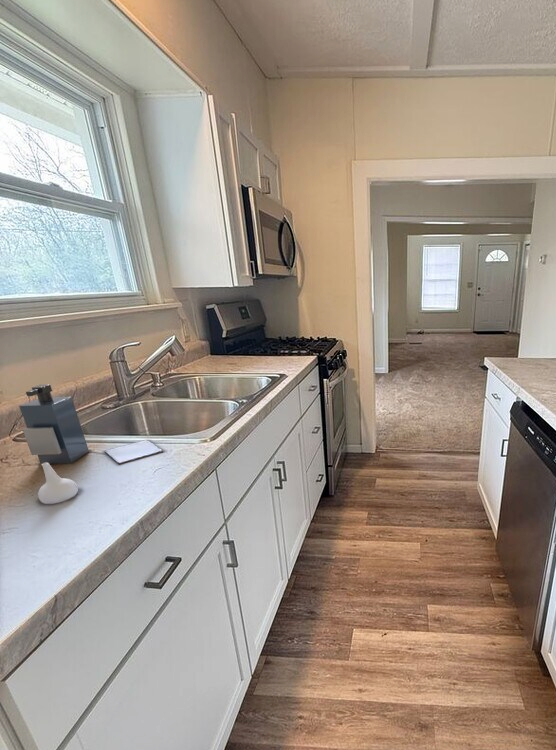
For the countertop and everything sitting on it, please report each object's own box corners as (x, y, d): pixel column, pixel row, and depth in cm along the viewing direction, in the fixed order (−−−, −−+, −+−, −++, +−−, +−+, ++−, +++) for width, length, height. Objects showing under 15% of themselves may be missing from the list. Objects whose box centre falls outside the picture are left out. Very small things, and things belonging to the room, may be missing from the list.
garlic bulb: (71, 504, 79) (58, 468, 76) (34, 508, 78) (19, 472, 75) (85, 489, 85) (73, 455, 82) (51, 493, 83) (38, 458, 80)
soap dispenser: (70, 466, 95) (44, 390, 88) (39, 467, 95) (10, 390, 88) (89, 453, 102) (67, 381, 95) (61, 454, 102) (36, 382, 95)
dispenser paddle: (58, 454, 92) (49, 428, 90) (31, 455, 92) (21, 429, 90) (61, 452, 93) (52, 426, 91) (34, 453, 93) (25, 427, 91)
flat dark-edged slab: (105, 454, 102) (104, 450, 101) (147, 443, 109) (146, 439, 108) (119, 466, 95) (118, 462, 95) (163, 454, 102) (163, 450, 101)
